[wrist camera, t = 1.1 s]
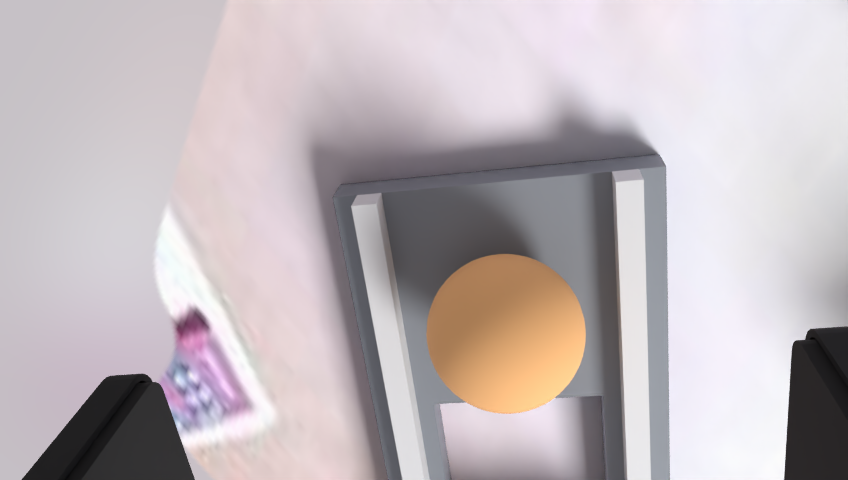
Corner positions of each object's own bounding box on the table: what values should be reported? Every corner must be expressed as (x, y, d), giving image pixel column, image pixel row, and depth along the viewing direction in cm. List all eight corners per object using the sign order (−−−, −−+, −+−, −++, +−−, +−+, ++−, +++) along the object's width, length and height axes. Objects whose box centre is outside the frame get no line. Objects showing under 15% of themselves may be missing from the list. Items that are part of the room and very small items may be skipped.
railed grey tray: (340, 184, 32) (315, 226, 28) (659, 154, 30) (682, 194, 26) (408, 542, 40) (396, 616, 36) (665, 537, 38) (683, 614, 34)
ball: (424, 235, 31) (406, 307, 26) (575, 223, 30) (588, 294, 25) (443, 360, 33) (430, 451, 28) (583, 352, 32) (597, 444, 27)
